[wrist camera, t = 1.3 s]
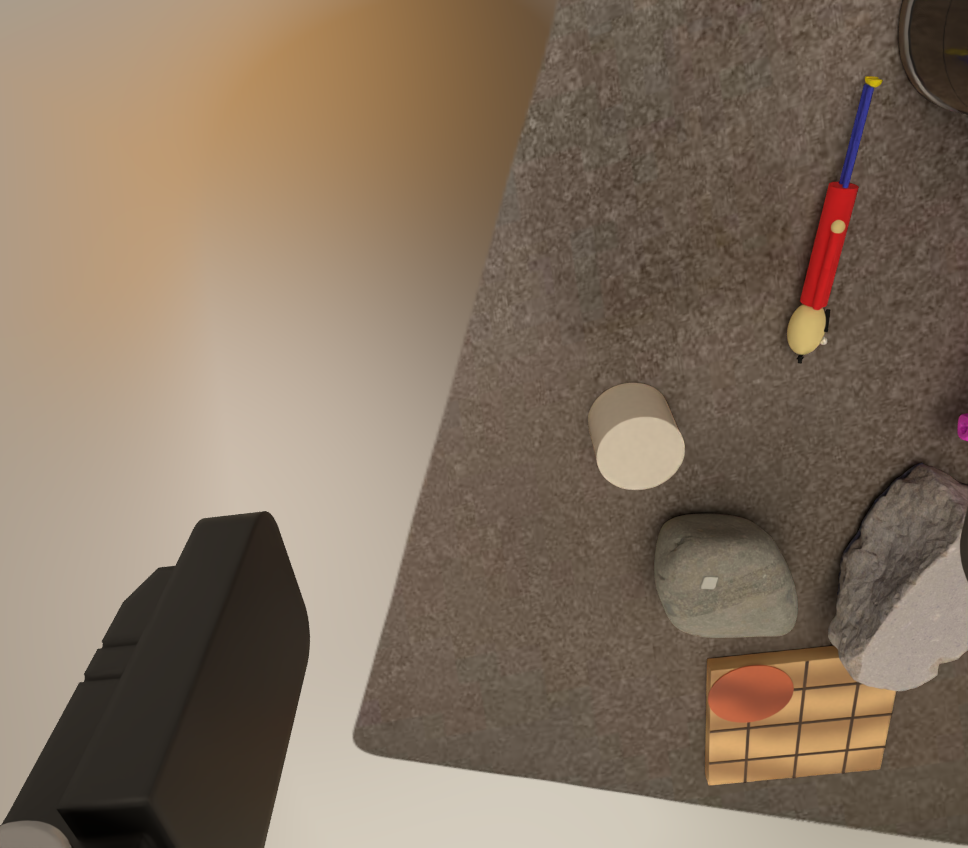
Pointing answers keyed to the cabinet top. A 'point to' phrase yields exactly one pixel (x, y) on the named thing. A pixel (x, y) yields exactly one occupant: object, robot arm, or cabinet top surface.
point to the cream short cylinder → (635, 436)
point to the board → (791, 717)
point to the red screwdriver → (828, 244)
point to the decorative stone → (904, 584)
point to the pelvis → (963, 427)
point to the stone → (723, 578)
